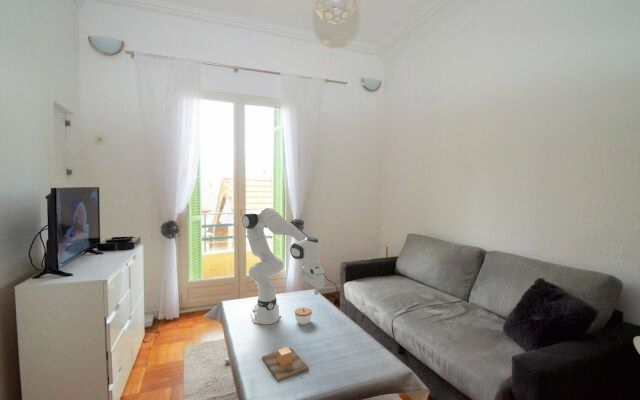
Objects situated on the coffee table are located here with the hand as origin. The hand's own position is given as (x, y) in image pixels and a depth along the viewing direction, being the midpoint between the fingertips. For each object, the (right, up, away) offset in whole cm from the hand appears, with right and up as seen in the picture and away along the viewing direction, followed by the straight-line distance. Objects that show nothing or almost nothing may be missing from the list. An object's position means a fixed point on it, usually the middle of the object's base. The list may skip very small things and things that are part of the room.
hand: (312, 291), depth 166 cm
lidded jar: (-6, -28, +24) cm, 37 cm away
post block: (-13, -31, -18) cm, 38 cm away
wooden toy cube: (-13, -29, -18) cm, 37 cm away
